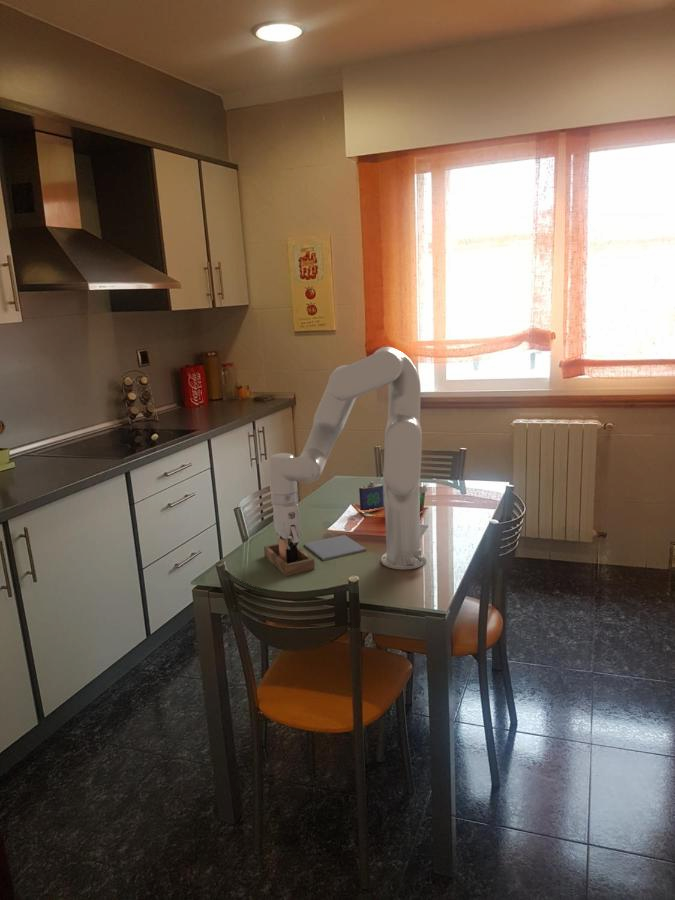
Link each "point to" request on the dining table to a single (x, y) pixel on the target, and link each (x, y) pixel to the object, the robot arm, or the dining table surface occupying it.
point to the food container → (422, 496)
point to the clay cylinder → (283, 549)
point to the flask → (371, 496)
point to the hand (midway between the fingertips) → (288, 557)
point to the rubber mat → (334, 547)
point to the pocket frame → (291, 568)
